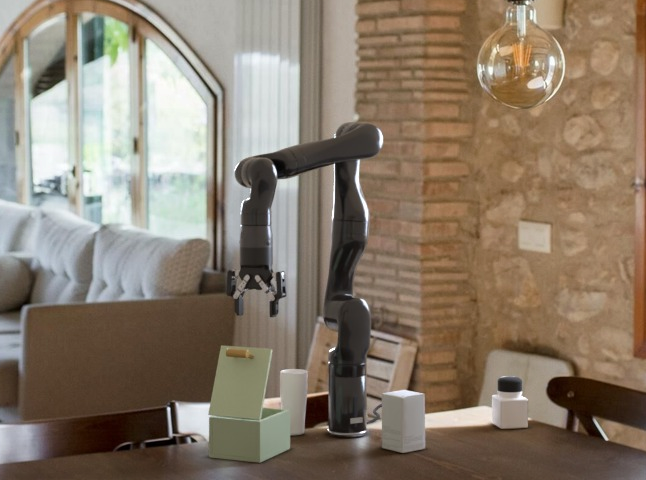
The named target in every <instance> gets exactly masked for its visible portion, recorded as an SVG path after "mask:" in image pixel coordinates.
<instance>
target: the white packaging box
mask: <svg viewBox="0 0 646 480" xmlns="http://www.w3.org/2000/svg"><path fill="white" fill-rule="evenodd" d="M425 395H426V394H425V393H424V392H423V393H422V392H417V391H412V390H407V389H400V390H393V391H389V392H388V391H387V392H382V393H381V404H382V407H381V449H385V450H389V451H393V452H397V453H401V454H405V453H411V452H415V451H421V450H425V449H426V404H425V403H426V396H425Z"/></svg>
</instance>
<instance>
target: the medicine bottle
mask: <svg viewBox="0 0 646 480" xmlns="http://www.w3.org/2000/svg"><path fill="white" fill-rule="evenodd" d="M491 423H492V424H493V425H494V426H496V427H497V428H499V429H501V430H512V429H528V428H529V399H528V398H527V397H524V396H523V380H522V378H520V377H518V376H513V375H505V376H500V377H499V378H498V379H497V394H492V395H491Z"/></svg>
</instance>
